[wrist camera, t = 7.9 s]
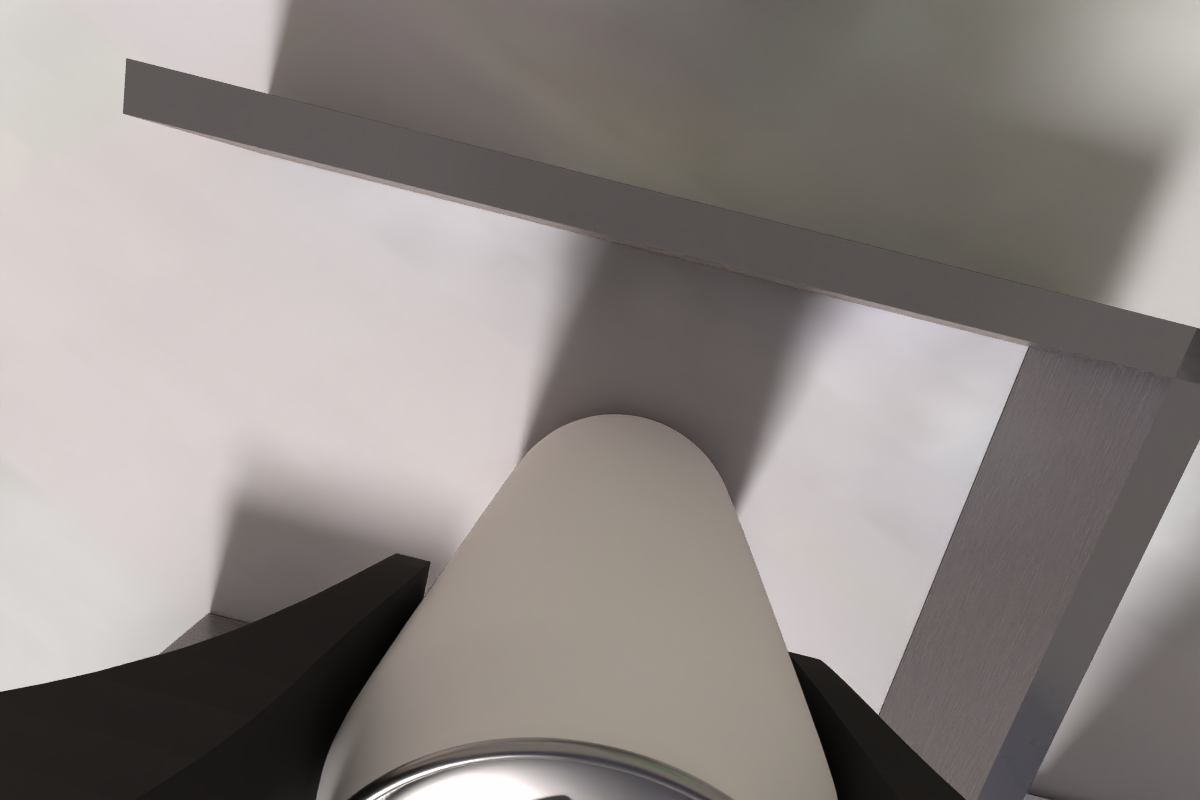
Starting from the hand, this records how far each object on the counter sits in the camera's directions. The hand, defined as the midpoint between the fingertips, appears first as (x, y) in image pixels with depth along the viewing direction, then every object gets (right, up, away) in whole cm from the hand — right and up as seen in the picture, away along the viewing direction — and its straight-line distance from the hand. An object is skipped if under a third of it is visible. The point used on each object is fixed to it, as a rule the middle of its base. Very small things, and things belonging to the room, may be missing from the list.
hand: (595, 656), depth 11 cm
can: (+1, +1, +7) cm, 7 cm away
